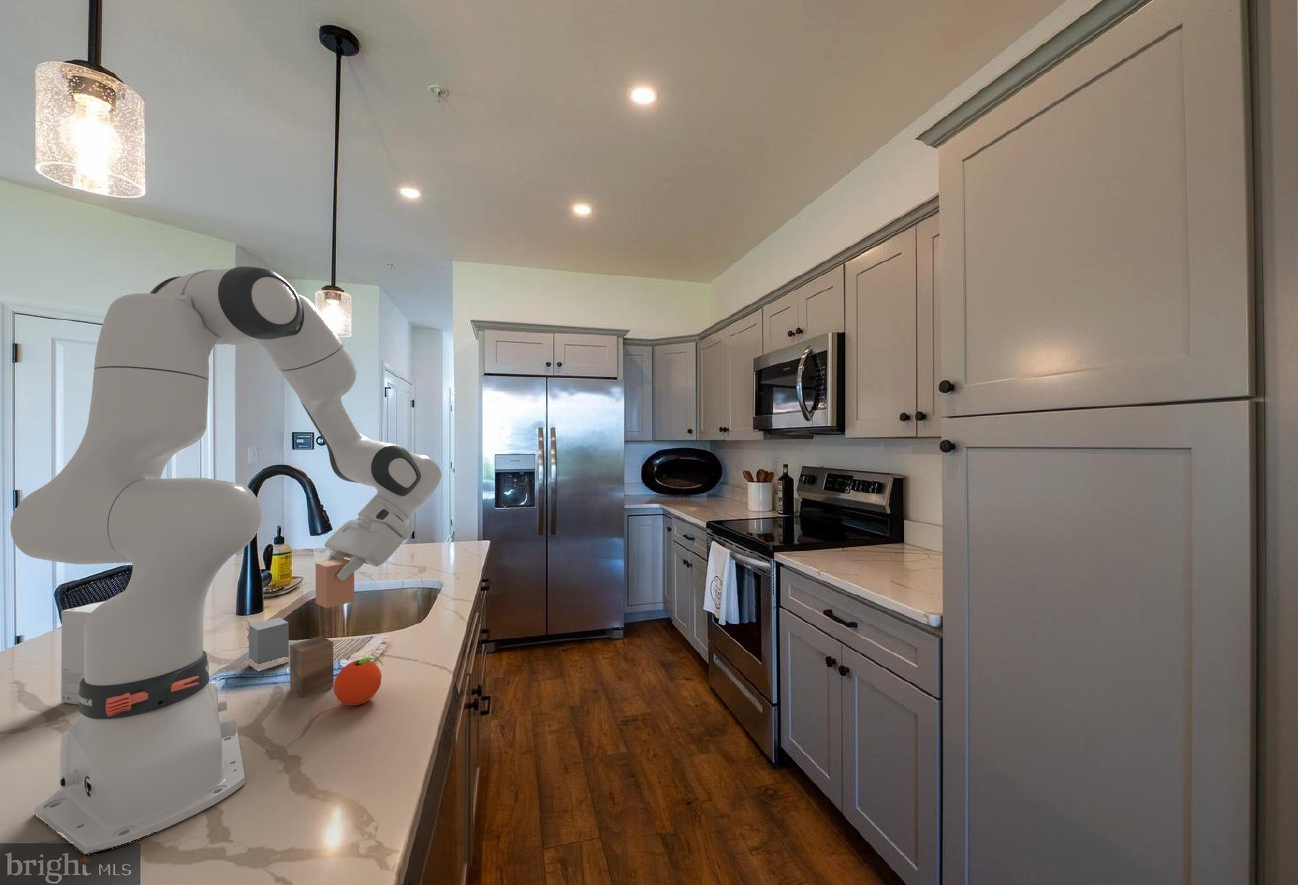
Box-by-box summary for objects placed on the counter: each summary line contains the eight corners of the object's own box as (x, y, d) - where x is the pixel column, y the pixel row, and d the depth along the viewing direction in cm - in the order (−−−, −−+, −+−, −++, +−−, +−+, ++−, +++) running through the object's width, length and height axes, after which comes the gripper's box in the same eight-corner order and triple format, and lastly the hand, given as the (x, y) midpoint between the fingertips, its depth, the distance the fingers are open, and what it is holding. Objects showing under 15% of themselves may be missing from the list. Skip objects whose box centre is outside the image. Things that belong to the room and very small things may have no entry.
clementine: (370, 686, 89) (370, 646, 89) (396, 694, 86) (396, 653, 86) (324, 708, 82) (324, 664, 82) (351, 718, 79) (350, 673, 79)
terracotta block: (354, 601, 99) (354, 561, 99) (326, 608, 95) (326, 566, 95) (343, 596, 102) (343, 558, 102) (315, 603, 98) (315, 563, 98)
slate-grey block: (288, 662, 99) (288, 622, 99) (257, 672, 95) (257, 630, 95) (279, 656, 102) (279, 617, 102) (249, 665, 98) (248, 624, 98)
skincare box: (87, 707, 82) (86, 613, 82) (57, 703, 84) (56, 611, 83) (147, 683, 90) (146, 597, 90) (119, 679, 92) (118, 595, 92)
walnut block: (333, 686, 89) (333, 641, 89) (301, 698, 85) (301, 651, 85) (321, 678, 92) (321, 635, 92) (290, 689, 88) (289, 644, 88)
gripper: (348, 507, 110) (297, 559, 102) (395, 514, 98) (341, 575, 90) (369, 524, 114) (322, 576, 106) (416, 533, 102) (367, 593, 94)
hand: (331, 576), depth 98 cm, fingers closed on terracotta block, 5 cm apart
